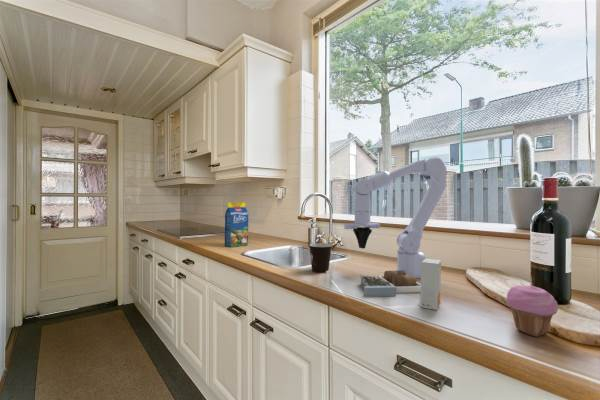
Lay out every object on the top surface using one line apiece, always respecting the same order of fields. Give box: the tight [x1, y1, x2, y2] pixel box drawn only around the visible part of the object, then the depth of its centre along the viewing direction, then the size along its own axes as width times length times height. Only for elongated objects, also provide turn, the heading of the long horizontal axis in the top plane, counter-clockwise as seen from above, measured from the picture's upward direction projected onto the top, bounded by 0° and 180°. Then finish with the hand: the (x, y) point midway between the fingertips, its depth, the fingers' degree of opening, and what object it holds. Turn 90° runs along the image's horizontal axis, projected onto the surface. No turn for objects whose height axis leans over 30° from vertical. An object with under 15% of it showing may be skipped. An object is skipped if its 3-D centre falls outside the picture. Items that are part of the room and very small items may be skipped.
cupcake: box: [506, 285, 559, 337], centre depth 65 cm, size 9×9×10 cm
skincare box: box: [419, 258, 442, 311], centre depth 80 cm, size 6×4×12 cm
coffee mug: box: [309, 243, 333, 274], centre depth 118 cm, size 12×9×10 cm
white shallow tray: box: [377, 275, 421, 294], centre depth 96 cm, size 10×13×2 cm
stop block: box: [363, 285, 397, 298], centre depth 87 cm, size 9×2×3 cm, turn 97°
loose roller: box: [392, 275, 417, 287], centre depth 94 cm, size 6×4×4 cm, turn 97°
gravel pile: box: [359, 274, 390, 289], centre depth 93 cm, size 11×8×4 cm
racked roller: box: [383, 270, 406, 283], centre depth 100 cm, size 6×4×4 cm, turn 97°
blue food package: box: [224, 202, 249, 248], centre depth 174 cm, size 6×12×25 cm, turn 137°
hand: (362, 248), depth 112 cm, fingers closed
